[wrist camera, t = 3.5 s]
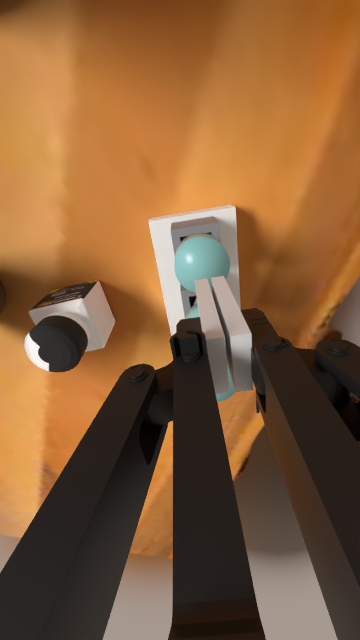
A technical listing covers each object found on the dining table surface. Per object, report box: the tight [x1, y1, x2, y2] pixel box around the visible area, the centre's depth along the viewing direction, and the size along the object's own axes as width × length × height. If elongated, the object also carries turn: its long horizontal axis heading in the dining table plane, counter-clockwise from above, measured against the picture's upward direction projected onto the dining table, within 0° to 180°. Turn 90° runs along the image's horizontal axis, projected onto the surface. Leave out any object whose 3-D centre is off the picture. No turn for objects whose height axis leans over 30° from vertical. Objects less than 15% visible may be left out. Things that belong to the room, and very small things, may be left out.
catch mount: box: [148, 205, 241, 336], centre depth 33 cm, size 10×19×8 cm, turn 9°
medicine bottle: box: [24, 280, 115, 372], centre depth 33 cm, size 7×7×12 cm
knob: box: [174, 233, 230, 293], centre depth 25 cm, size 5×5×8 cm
